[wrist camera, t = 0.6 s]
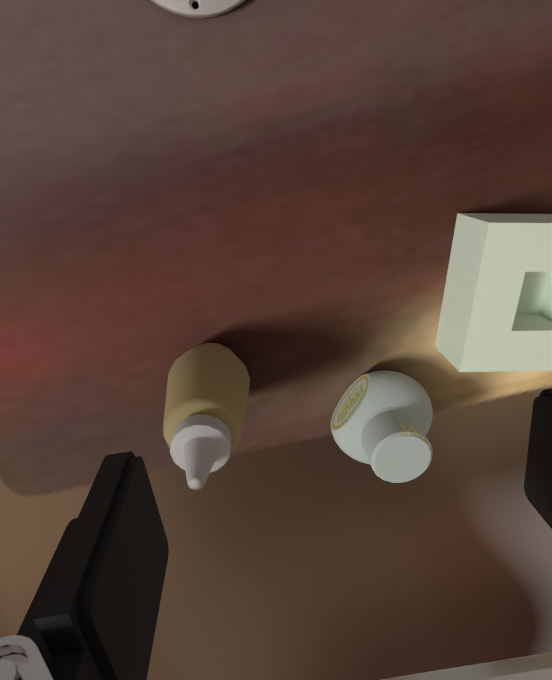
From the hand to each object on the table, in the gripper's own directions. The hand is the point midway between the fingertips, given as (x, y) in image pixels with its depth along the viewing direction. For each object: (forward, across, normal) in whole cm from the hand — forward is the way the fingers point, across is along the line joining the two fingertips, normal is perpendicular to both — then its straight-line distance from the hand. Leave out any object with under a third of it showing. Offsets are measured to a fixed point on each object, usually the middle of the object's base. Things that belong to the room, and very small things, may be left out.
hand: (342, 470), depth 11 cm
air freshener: (+35, -9, +21) cm, 42 cm away
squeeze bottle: (+35, +8, +13) cm, 38 cm away
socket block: (+35, -24, +9) cm, 43 cm away
